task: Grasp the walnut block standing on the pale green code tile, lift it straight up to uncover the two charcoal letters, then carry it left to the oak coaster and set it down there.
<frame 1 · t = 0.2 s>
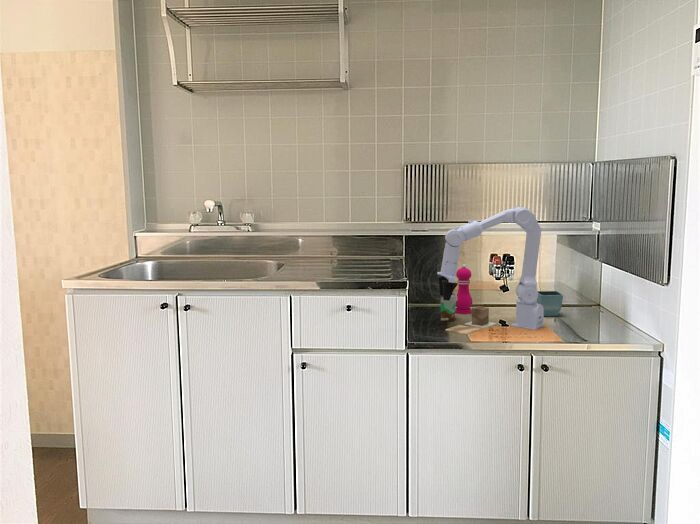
hand: (444, 297, 236), 11 cm above the countertop, tool pointing down, fingers open, 7 cm apart
pepper mill: (463, 313, 257), on the countertop
coaster: (462, 330, 230), on the countertop
food container: (449, 320, 247), on the countertop
flower pot: (548, 315, 252), on the countertop
code tile: (480, 324, 239), on the countertop
block: (480, 323, 239), resting on code tile
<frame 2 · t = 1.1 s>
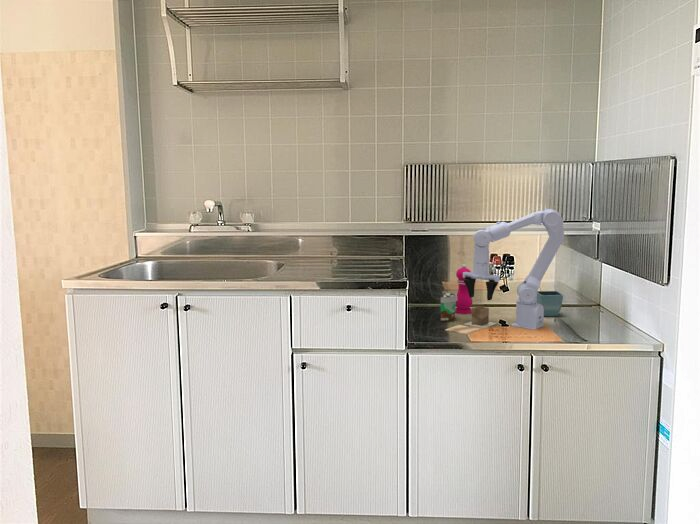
hand: (480, 298, 237), 10 cm above the countertop, tool pointing down, fingers open, 7 cm apart
nothing on the countertop moved.
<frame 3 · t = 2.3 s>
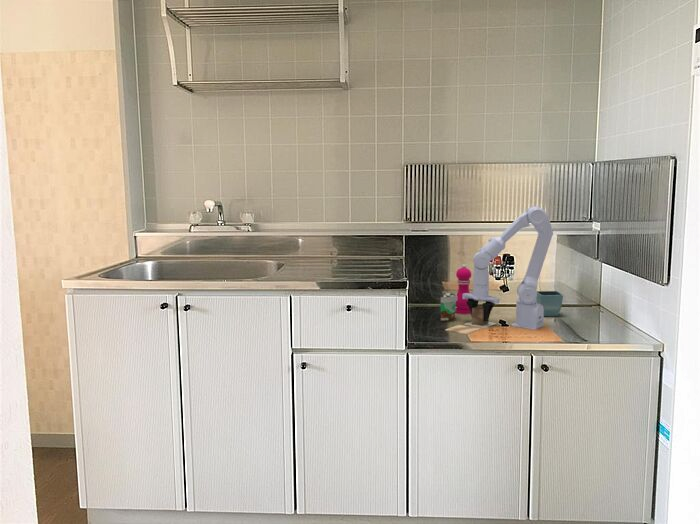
hand: (480, 319, 238), 2 cm above the countertop, tool pointing down, fingers closed on block, 4 cm apart
block: (480, 323, 239), resting on code tile, touching gripper
everything else where it was.
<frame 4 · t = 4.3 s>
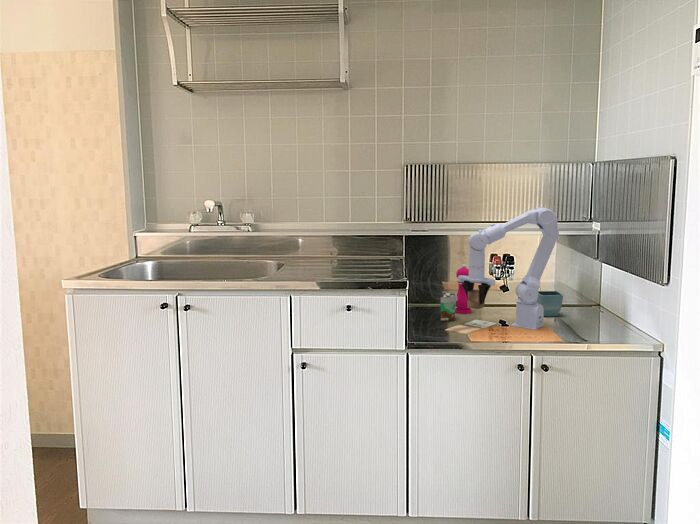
hand: (475, 302, 235), 9 cm above the countertop, tool pointing down, fingers closed on block, 4 cm apart
block: (475, 307, 235), point 7 cm above the countertop, touching gripper
everything else where it was.
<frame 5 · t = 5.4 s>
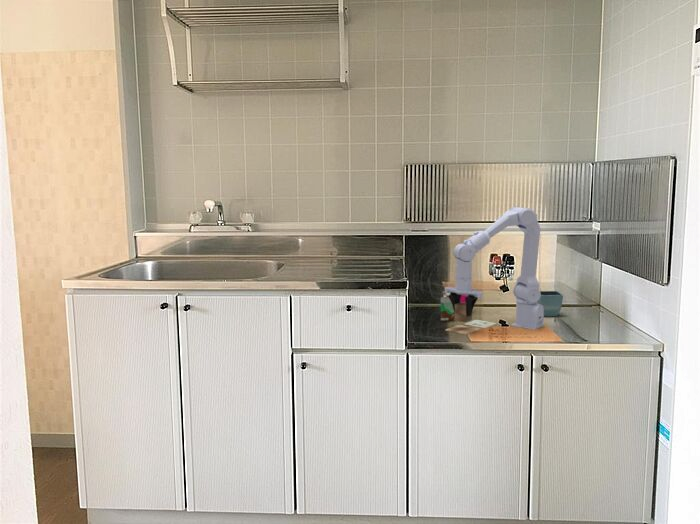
hand: (462, 314, 229), 6 cm above the countertop, tool pointing down, fingers closed on block, 4 cm apart
block: (463, 320, 230), point 4 cm above the countertop, touching gripper
everything else where it was.
when the fingers open (4 cm above the countertop, at t = 6.2 s): block drops 1 cm, resting on coaster.
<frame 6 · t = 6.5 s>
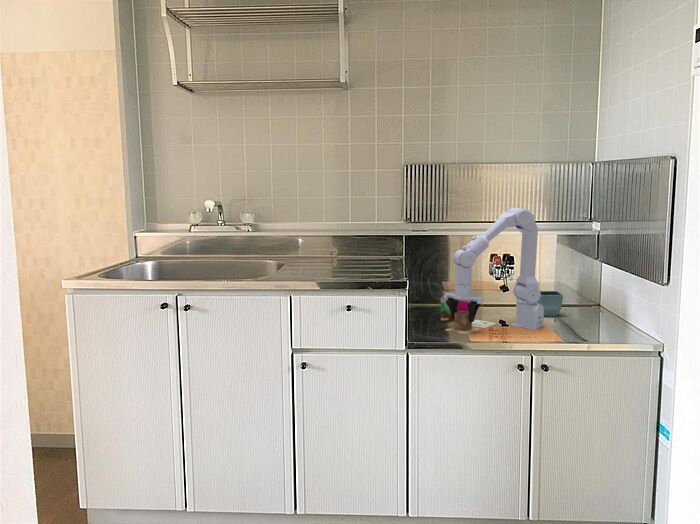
hand: (462, 320, 229), 4 cm above the countertop, tool pointing down, fingers open, 7 cm apart
block: (463, 328, 230), point 1 cm above the countertop, touching coaster
everything else where it was.
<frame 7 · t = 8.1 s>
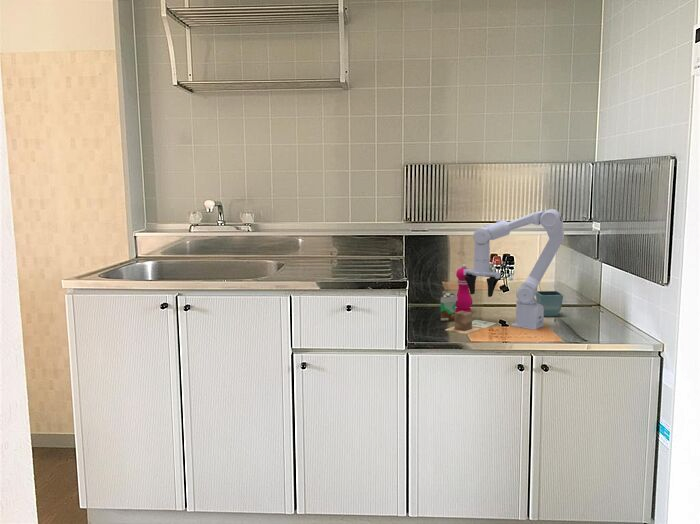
hand: (481, 295, 241), 10 cm above the countertop, tool pointing down, fingers open, 7 cm apart
nothing on the countertop moved.
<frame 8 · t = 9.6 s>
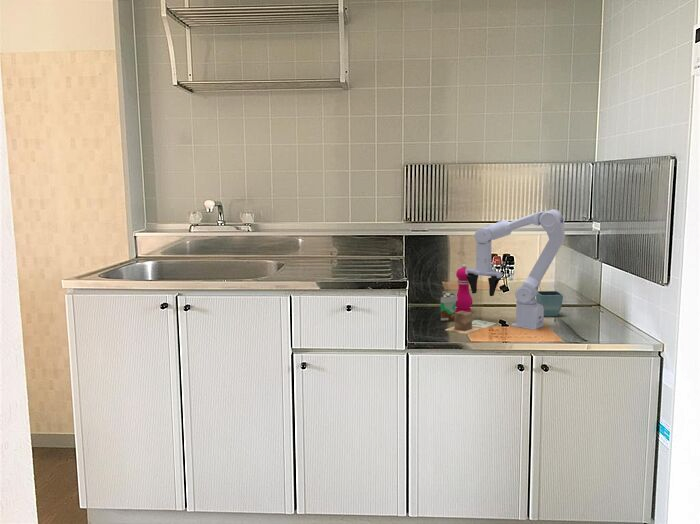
hand: (482, 294, 242), 10 cm above the countertop, tool pointing down, fingers open, 7 cm apart
nothing on the countertop moved.
at the end: block inside the target area on the coaster (0.3 cm from its centre), point 0.6 cm above the coaster's base; block tilted 0°; block moved 11.7 cm from its start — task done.
